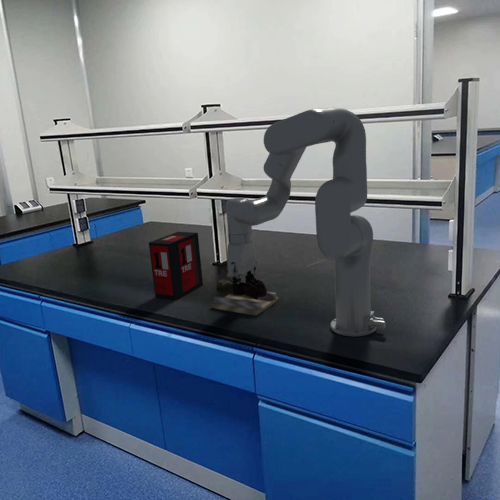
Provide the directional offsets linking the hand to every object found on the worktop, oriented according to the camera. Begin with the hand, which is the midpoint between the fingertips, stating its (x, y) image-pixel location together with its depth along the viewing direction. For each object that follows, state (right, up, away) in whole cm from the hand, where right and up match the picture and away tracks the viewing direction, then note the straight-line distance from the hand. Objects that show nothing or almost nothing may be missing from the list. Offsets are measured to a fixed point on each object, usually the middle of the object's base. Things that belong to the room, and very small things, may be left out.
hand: (244, 290), depth 164 cm
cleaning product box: (-23, -2, +19) cm, 30 cm away
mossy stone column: (0, -2, +1) cm, 2 cm away
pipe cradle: (0, -4, +1) cm, 5 cm away
